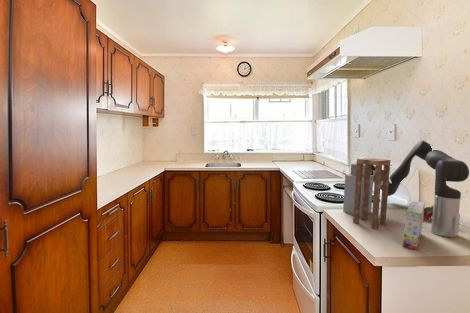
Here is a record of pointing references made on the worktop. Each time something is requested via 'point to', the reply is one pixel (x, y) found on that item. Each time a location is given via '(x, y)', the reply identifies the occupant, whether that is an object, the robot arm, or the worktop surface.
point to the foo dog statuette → (428, 212)
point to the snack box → (413, 225)
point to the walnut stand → (377, 186)
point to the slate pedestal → (350, 194)
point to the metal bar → (354, 167)
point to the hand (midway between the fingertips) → (366, 165)
